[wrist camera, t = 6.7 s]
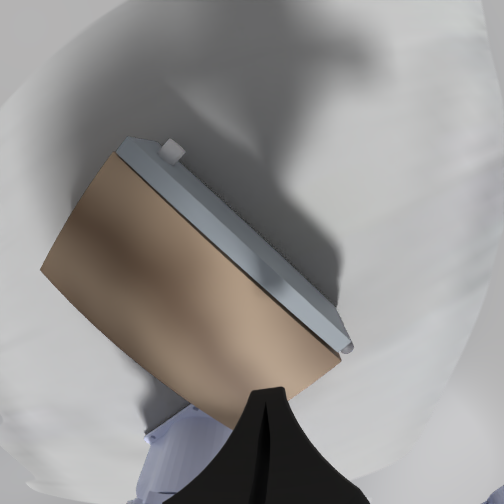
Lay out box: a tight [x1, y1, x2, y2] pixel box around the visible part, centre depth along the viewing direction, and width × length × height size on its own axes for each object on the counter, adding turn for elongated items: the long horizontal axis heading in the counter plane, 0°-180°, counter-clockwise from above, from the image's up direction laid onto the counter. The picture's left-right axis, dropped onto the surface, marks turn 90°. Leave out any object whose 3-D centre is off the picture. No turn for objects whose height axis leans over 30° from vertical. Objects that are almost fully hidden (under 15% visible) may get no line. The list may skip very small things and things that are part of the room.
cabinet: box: [40, 152, 341, 430], centre depth 18 cm, size 9×17×4 cm, turn 46°
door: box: [116, 136, 354, 354], centre depth 17 cm, size 2×17×4 cm, turn 47°
